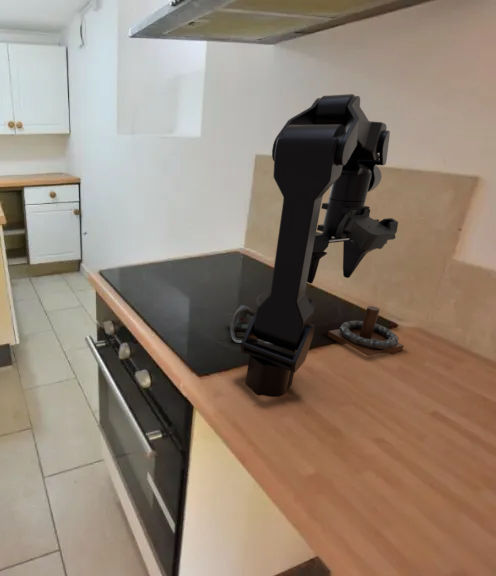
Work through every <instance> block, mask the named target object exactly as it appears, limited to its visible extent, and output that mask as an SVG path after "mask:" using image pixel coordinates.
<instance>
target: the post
mask: <svg viewBox="0 0 496 576" xmlns="http://www.w3.org/2000/svg"><path fill="white" fill-rule="evenodd" d="M380 311H381V310H380V308H379V307H377V306H374V305H372V306H371V305H368V306H367V307H366V310H365V313H364V318H363V320H362V321H363V324H362V328H361V329H357V328H355V329H350V331H351V332H352V333H354V334H356V335H358V336H360V337H363V338H367V339H370V340H379V341H384V340H388V339H387V338H386V337H385V336H383V335H381V334H379V333H377V332H374V327H375V324H377V320H378V318H379V317H378V316H379V313H380ZM339 329H340V328H338V329H332V330H328V332H327V337H328V338H330V339H332V340H333V341H335V342H336V343H338V344H340V345H343V346H344V345H349V346H350V347H352V348H354V349H355V350H357V351H358V352H360V353H363V354H364V355H366V356H372V355H376V354H382V353H384V352H386V353H388V354H393V353H395V354H396V353H398V352H402V351H403V349H404V346H405V345H404V344H403V343H400V342H398V344H397V346H396V347H394V348H389V349H385V350H383V349H372V348H367V347H364V346H361V345H357V344H355V343H353V342H351V341H349V340H348V339H346V338H344V336H343V335H342V334H341V332H340V330H339Z"/></svg>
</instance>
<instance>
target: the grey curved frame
mask: <svg viewBox="0 0 496 576" xmlns="http://www.w3.org/2000/svg"><path fill="white" fill-rule="evenodd" d="M256 311H257V310H254V309H252V308H250V307H248V306H247V305H245V304H240V305H239V307H238V308H237V309H236V311H235V312H234V314H233V317H232V320H231V323H230V325H229V326H230V337H231V339H232V340H233V341H234V342H235V343H238V344H241V342H242V340H243V338H244V336H245V333H246V331H247V328H248V326H249V323H250V321H251V318H252V317H253V316H254V315H255V313H256ZM257 340H259V341H262V342H264V343H267V344H270V345H273V344H272V343H269V342H266V341H263V340H260V339H257Z"/></svg>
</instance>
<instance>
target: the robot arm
mask: <svg viewBox="0 0 496 576" xmlns="http://www.w3.org/2000/svg"><path fill="white" fill-rule="evenodd" d="M387 129H388V128H387V124H386V123H385V122H382V121H373V120H371V121H370V120H369V119H368V117H367V116H366V114H365V112H364V110H363V109H362V108H361V96H359V95H355V94H353V93H347V94H332V95H330V94H329V95H323V96H321V97H317V98H316V99H315V100H314V102H313V103H312V104H311V106H310V107H308V108H306V109H304V110H303V111H301V112H300V113H298V114H296V115H294V116H293V117H291V118H289V119H288V120H287V121H286V123H285V124H284V125H283V127H282V128H281V129H280V131H279V132H278V133H277V135H276V137H275V138H274V141H273V144H272V149H271V158H272V161H273V179H274V182H275V183H276V186H277V187H278V189H279V191H280V193H281V195H282V200H283V201H282V206H281V207H282V208H281V213H280V214H281V215H280V221H279V229H278V237H277V244H276V250H275V257H274V265H273V272H272V280H271V287H270V293H269V295H268V296H267V297H266V298H265V299H264V300H263V301H262V302H261V303H260V305H258V306H257V308H256V310H255V311H256V313H255V315H254V316H253V317H252V318H251V321H250V323H249V326H248V328H247V331H246V333H245V336H244V338H243V340H242V342H241V343H240V353H242V354H246V355H248V356H249V357H248V364H247V370H246V376H245V383H244V384H245V385H246V387H248V388H249V389H250V390H251V391H252V392H253V393H255V395H256V396H265V397H273V398H276V397H277V398H278V397H281V396H283V395H285V394H286V392H287V389H290V388H291V387H292V385H293V379H294V376H295V375H294V374H296V373H297V371H298V370H299V369H300V368H301V366H302V365H304V363H305V361H306V359H307V356H308V353H309V349H310V347H311V344H312V341H313V338H314V334H315V329H316V328H315V325H313V320H314V312H315V308H316V304H315V301H314V300H313V299H311V298H308V296H307V294H306V289H307V283H308V284H313V283H314V280H315V278H316V275H317V272H318V268H319V263H320V260H321V259H322V258H323V257H325V256H326V255H327V254H328V252H327V251H326V250H327V249H328V248H329V244H334V243H342V246H343V249H342V250H343V251H342V275H343V277H344V278H345V279H349V278H351V276H352V275H353V274H354V272H355V271H356V269H357V267H358V266H359V265H360V263H361V261H363V259H364V258H365V256H366V255H367V254H368V253H370V252H372V251H374V250H381V249H383V248H384V246H385V245H386V244H387V243H388V241H392V240H396V234H397V232H398V227H399V221H398V220H396V219H394V218H393V217H388V218H383V219H381V220H380V219H378V218H377V219H376V218H375V219H374V218H372V217H370V213H371V209H370V206H367V205H365V204H366V199H367V196H368V193H370V192H371V191H374V190H375V189H376V188H377V187H379V185H380V183H381V182H382V172H381V169H380V167H378V166H385V165H387V160H388V152H389V144H390V143H389V142H390V134H391V130H387ZM329 189H330V190H329ZM328 190H329V196H328V200H327V202H323V197H324V195H325V194H326V193H327V191H328ZM321 209H323V210H325V215H324V219H323V224H319V218H320V212H321ZM257 339H260V340H263V341H266V342H269V343H272V344H267V343H264V342H262V341H259V340H257Z"/></svg>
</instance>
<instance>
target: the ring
mask: <svg viewBox="0 0 496 576" xmlns="http://www.w3.org/2000/svg"><path fill="white" fill-rule="evenodd" d="M363 321H364V320H349V321H345V322H343V323H342V324H341V326H340V327H339V328H338V329H339V330H340V332H341V334H342V335H343V336H344V338H346V339H348V340H349V341H351V342H353V343H355V344H357V345H361V346H364V347H367V348H372V349H383V350H385V349H389V348H394V347H396V346H397V344H398V343H399V340H400V339H399V336H398V335H397V334H396V333H395V332H394V331H393V330H391V329H389V328H387V327H385V326H383V325H381V324H378V323H376V324H375V327H374V332H377V333H379V334H381V335H383V336H385V337H386V338H387V339H388V340H384V341H379V340H370V339H367V338H363V337H360V336H358V335H356V334H354V333H352V332H351V331H350V329H355V328H357V329H361V328H362V324H363Z"/></svg>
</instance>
